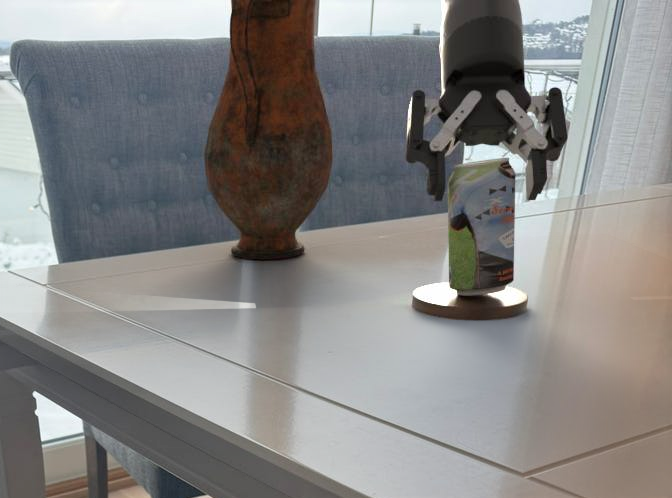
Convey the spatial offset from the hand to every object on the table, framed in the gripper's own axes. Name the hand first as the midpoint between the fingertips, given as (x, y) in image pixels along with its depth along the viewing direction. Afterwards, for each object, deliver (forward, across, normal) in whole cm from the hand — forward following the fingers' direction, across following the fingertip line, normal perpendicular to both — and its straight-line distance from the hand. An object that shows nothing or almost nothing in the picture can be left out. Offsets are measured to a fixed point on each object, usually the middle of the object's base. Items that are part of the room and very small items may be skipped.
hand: (486, 195), depth 86 cm
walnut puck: (+8, 0, +10) cm, 12 cm away
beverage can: (+6, 0, +8) cm, 9 cm away
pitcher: (-18, -21, +36) cm, 45 cm away
